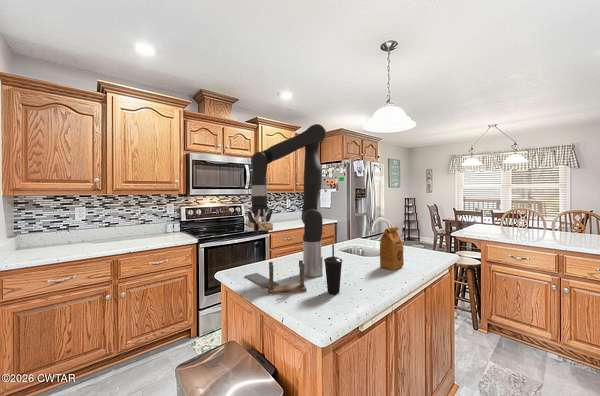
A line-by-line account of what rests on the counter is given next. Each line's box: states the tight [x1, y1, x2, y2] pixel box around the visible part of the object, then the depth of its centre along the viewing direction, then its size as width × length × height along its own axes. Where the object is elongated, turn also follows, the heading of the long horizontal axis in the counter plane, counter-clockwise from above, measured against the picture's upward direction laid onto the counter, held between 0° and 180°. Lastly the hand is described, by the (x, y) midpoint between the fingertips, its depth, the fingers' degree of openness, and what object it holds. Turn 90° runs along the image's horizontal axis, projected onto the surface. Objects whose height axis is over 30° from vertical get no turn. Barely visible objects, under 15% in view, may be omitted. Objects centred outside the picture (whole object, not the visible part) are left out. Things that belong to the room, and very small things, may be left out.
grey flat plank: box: [244, 272, 280, 289], centre depth 120 cm, size 20×7×1 cm, turn 39°
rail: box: [247, 220, 274, 232], centre depth 120 cm, size 18×3×3 cm, turn 39°
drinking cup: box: [323, 244, 344, 296], centre depth 105 cm, size 8×8×20 cm
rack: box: [267, 259, 307, 296], centre depth 107 cm, size 16×6×12 cm, turn 99°
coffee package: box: [379, 226, 404, 270], centre depth 138 cm, size 10×12×22 cm
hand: (260, 231), depth 120 cm, fingers closed on rail, 3 cm apart
